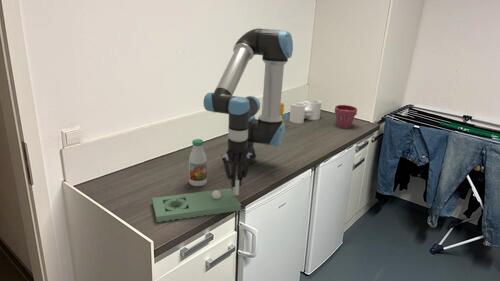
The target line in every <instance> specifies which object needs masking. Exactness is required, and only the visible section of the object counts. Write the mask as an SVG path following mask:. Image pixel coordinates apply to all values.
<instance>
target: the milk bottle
mask: <svg viewBox="0 0 500 281" xmlns="http://www.w3.org/2000/svg"><path fill="white" fill-rule="evenodd" d="M191 144H192V150H191V151H190V154H189V156H188V183H189V185H191V186H194V187H202V186H204V185H206V184H207V179H208V172H207V171H208V165H207V164H208V161H207V160H208V158H207V155H206V153H205V150H204V147H203V146H204V140H203V139H202V138H195V139H193V140H192V142H191Z"/></svg>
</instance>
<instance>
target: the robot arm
mask: <svg viewBox="0 0 500 281" xmlns="http://www.w3.org/2000/svg"><path fill="white" fill-rule="evenodd" d="M293 44H294V43H293V36H292V33H291V32H290V31H288V30H284V29H269V28H259V27H258V28H253V29H251V30H249V31H247V32H245V33H244V34H243V35H241V37H239V38H238V40H237V41H236V42H235V44H234V46H233V48H232V50H233V53H232V55H231V57H230V58H229V61H228V64H227V65H226V68H225V69H224V71H223V74H222V76H221V77H220V79H219V82H218V83H217V85H216V87H215V89H214V91H213V92H207V93H206V94H205V95H204V97H203V102H202V103H203V107H204V109H205V111H207V112H210V113H211V112H212V113H218V114H225V115H228V127H227V129H228V130H227V131H228V133H227V134H228V135H227V151H226V153H225V154H224V155H220V158H221V160H222V161H223V166H224V170H225V175H226V178H227V179H228V180H230V185H231V187H232V188H233V189H232V191H233V193H234V195H235V196H239V195H240V187H241V186H242V180H244V178H247V176H248V175H247V174H248V173H249V172H248V171H249V168H250V165H252V164H254V163H255V162H257V154H256V150H255V145H254V144H259V145H265V146H268V147H269V146H270V147H279V146H280V145H281V143H282V142H283V140H284V136H285V134H286V124H285V122H284V123H282V118H281V116H280V105H281V103H282V102H281V101H282V91H283V81H284V68H285V64H287V63H288V62H289V61H288V60H289V59H290V58H292V56H293V51H294V45H293ZM256 55H258V56H262V58H261V60H262V61H263V63H264V65H265V66H264V78H263V91H262V92H263V93H262V107H261V102H260V100H259V99H258V98H257V97H256V96H254V95H249V96H248V95H247V96H246V97H244V96H236V95H235V96H234V93H235V91H236V89H237V87H238V84H239V82H240V80H241V78H242V77H243V74H244V72H245V70H246V68H247V65H248V63H249V61H251V60H253V58H254V56H256ZM260 109H261V113H260V115H259V116H258V118H257V119H256V116H255V115H256V114H257V113H258V112H259V111H260ZM229 163H230V164H231V165H230V166H231V168H230V167H229Z"/></svg>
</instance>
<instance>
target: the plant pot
mask: <svg viewBox="0 0 500 281" xmlns="http://www.w3.org/2000/svg"><path fill="white" fill-rule="evenodd" d="M334 113H335V118H336V119H335V120H336V122H335V123H336V126H337V127H338V128H340V127H341V128H342V129H350V128H351V126H352V125H353V121H354V119H355V116H356V115H357V114H358V108H357V107H355V106H353V105H349V104H348V105H347V104H337V105H335V106H334Z"/></svg>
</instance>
